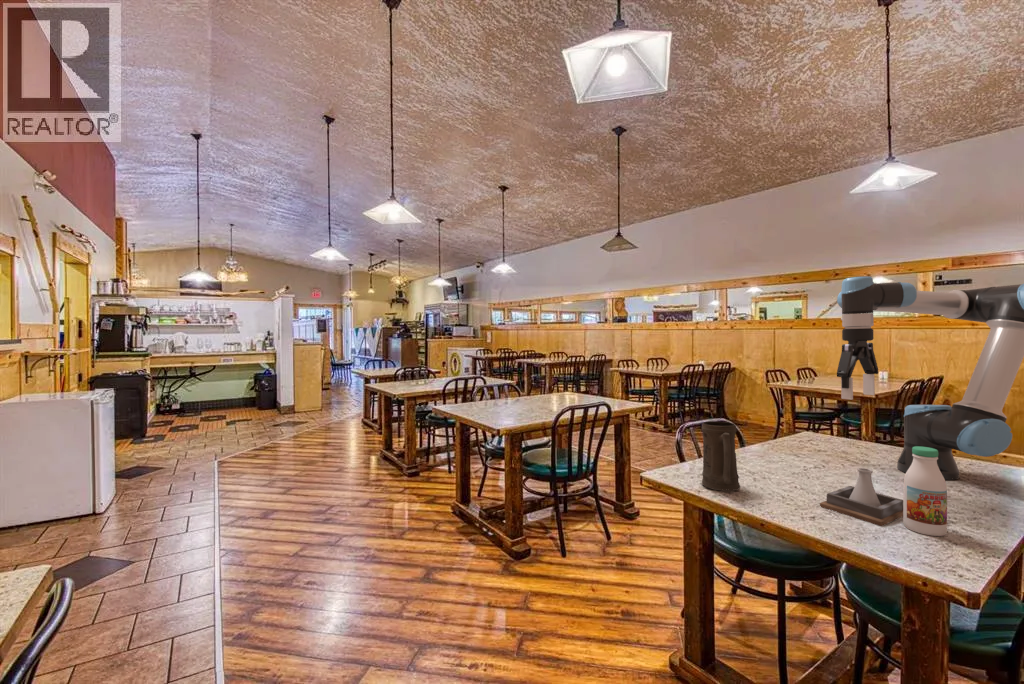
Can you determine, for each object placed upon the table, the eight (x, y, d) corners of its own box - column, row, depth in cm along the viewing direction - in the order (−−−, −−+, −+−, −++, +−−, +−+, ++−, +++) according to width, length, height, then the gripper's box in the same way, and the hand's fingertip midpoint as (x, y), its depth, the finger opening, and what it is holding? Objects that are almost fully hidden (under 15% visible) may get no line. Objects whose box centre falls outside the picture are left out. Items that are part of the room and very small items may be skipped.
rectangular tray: (850, 495, 128) (850, 483, 128) (911, 513, 115) (911, 499, 115) (819, 506, 120) (819, 494, 120) (881, 526, 108) (881, 512, 108)
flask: (888, 512, 113) (889, 474, 113) (857, 510, 115) (857, 473, 115) (871, 501, 121) (871, 466, 120) (842, 500, 122) (842, 464, 122)
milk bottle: (894, 523, 109) (895, 444, 109) (922, 522, 110) (923, 443, 109) (926, 538, 101) (926, 453, 101) (956, 536, 102) (957, 452, 102)
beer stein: (695, 480, 143) (695, 419, 142) (728, 480, 142) (728, 419, 142) (716, 498, 127) (715, 430, 127) (753, 498, 127) (753, 430, 126)
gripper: (862, 327, 142) (863, 391, 143) (822, 329, 130) (823, 399, 131) (891, 326, 136) (892, 394, 136) (851, 328, 124) (852, 402, 124)
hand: (858, 397), depth 133 cm, fingers open, 13 cm apart
